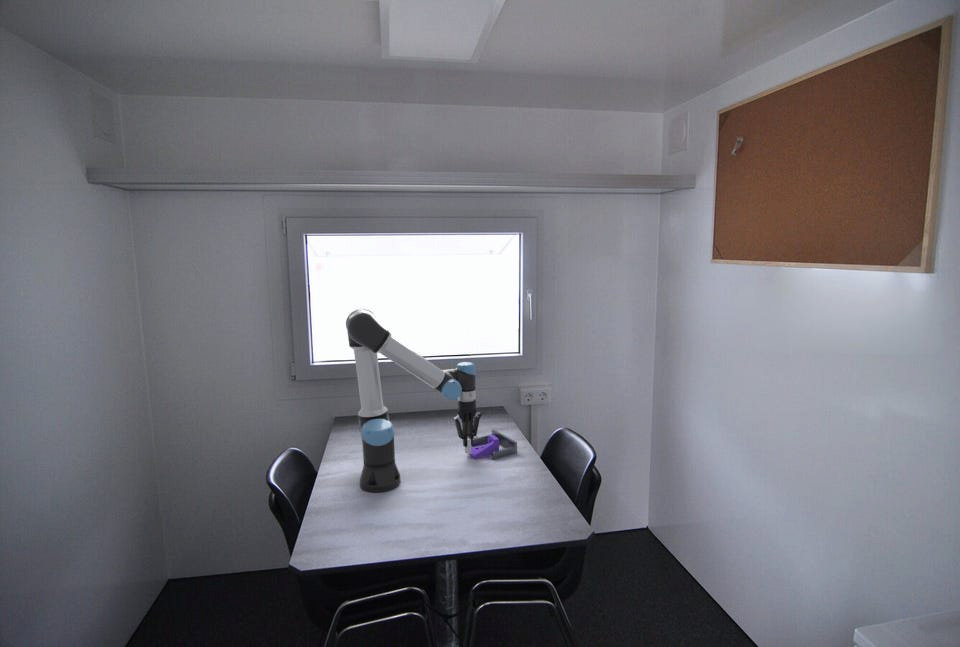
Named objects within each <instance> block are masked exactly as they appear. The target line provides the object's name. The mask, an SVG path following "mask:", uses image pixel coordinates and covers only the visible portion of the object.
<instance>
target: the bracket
mask: <svg viewBox="0 0 960 647" xmlns="http://www.w3.org/2000/svg"><path fill="white" fill-rule="evenodd" d="M488 435H489V436H488V442H487V443H485V444H480V445H476V446H471V454H469V455H468V456H470V458H471V459H473V460H475V459H481V458H485V457H489V456H491V457H492V452H494V451H498V450H500V445H499V439H498V438H497V437H496V436H494V435H490V434H488Z"/></svg>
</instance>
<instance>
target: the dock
mask: <svg viewBox="0 0 960 647" xmlns="http://www.w3.org/2000/svg"><path fill="white" fill-rule="evenodd" d="M489 435H494V436H496V437H497V438H498V439H499V446H501V447H503V448H502V449H499V450H498V451H494V452H492V455H491V460H494V461H495V460H499V459H502V458H505V457H508V456H513V455H515V454H517V453H518V442H517V441H515V440H514V439H512V438H510V437H509V436H507V435H505V434H503V433H501V432H500V431H498V430H496V429H491V434H487V435H484V436H483V435H482V436H477V437H478V438H474V439H472V440H473V444H472V445H471V447H476V446H481V445H485V444H488V436H489Z"/></svg>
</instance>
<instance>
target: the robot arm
mask: <svg viewBox="0 0 960 647" xmlns="http://www.w3.org/2000/svg"><path fill="white" fill-rule="evenodd" d="M345 326H346V330H347V331H346V332H347V338H348V339H347V341H348V346H349V347H350V349H352V350H353V354H354V360H355V368H356V377H357V385H358V391H359V392H358V393H359V394H358V395H359V400H360V410H359V411H358V412H357V416H358V428H359V432H360V433H359V434H360V437H361V444H362V456H363V457H362V458H363V460H362V461H363V466H362V470H361V472H360V477H359V486H360V489H362V490H363V491H365V492H368V493H384V492H388V491H391V490H394V489H395V488H397V487H398V486H400V484H401V473H400V471H399V469H398V467H397V463H396V452H395V428H394V425H393V423H392V422H391V421H390V418H389V410H388V407H386V405H384V400H383V392H382V383H381V374H380V367H379V358H378V357H379V356H378V354H381V355H382V356H384V357H385V358H387V359H388V360H390V361H391V362H393V363H395V364H396V365H397V366H399V367H400V368H402V369H404V370H405V371H407V372H408V373H409V374H411V375H413V376H414V377H415V378H416V379H418V380H420V381H421V382H424V383H425V384H426V385H428V387H429V389H430V390H435V391H437V392H438V393H440V394H441V395H442V396H443V397H444V398H445V399H447V400H449V401H454V400H456V399H457V400H458V401H457V409H458V412H457V415H456V416H453V417H452V421H453V422H454V423H455V427H456V431H457V436H458V438H459V439H461V440H462V445H463V447H464V452H465V454H467V455H468V456H470V455H469V454H471V447H472V446H471V445H472V444H473V440H472V439H474V437H475V436H477V434H478V430H479V429H478V428H479V424H480V420H481V417H482V415H483V414H482V413H481V412H478V411H477V400H476V397H477V395H476V393H477V392H476V389H477V388H476V375H477V374H476V365H475V364H474V363H473V362H471V361H461V362H459V363H457V365H456V367H455V368H449V369H441V368H439V366H436V365H435V364H433V363H432V362H430V361H429V360H428V359H426V358H425V357H423V356H422V355H420V353H417V352H416V351H415V350H413V349H412V348H410V347H409V346H408V345H406V344H405V343H403V342H401V341H400V340H398V339H397V338H395V337H394V336H392V333H391V331H390V330H389V329H388V328H386V327H385V326H384V325H382V323H380V321H379V320H378V319H377V316H376V315H375V313H374V312H372V311H371V310H369V309H366V308H359V309H355V310H353V311H351V313H349V315H348V316H347V318H346V321H345ZM460 421H461V422H460Z"/></svg>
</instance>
